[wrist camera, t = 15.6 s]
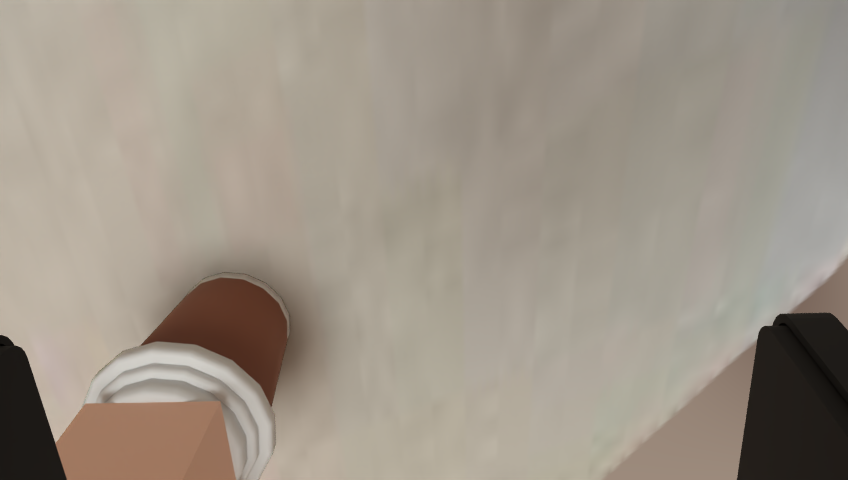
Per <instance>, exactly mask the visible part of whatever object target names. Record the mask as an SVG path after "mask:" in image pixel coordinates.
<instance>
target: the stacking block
mask: <svg viewBox="0 0 848 480" xmlns="http://www.w3.org/2000/svg"><path fill="white" fill-rule="evenodd" d="M56 447H57V450H58V453H59V456H60V459H61V463H62V466H63V469H64V472H65V475H66V478H67V480H236V477H235V472H234V467H233V462H232V457H231V452H230V447H229V442H228V437H227V432H226V427H225V422H224V417H223V412H222V407H221V402H220V401H201V402H148V403H85V405H84V406H83V407H82V409H81V410H80V411H79V413H78V414H77V415H76V417H75V418H74V419H73V421H72V422H71V424H70V425H69V426H68V428H67V429H66V430H65V432H64V433H63V434H62V436H61V437H60V438H59V440H58V441H57V442H56Z"/></svg>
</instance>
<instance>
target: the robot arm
mask: <svg viewBox="0 0 848 480" xmlns="http://www.w3.org/2000/svg"><path fill="white" fill-rule="evenodd" d="M0 480H67V478H66V475H65V472H64V469H63V466H62V463H61V459H60V456H59V453H58V450H57V447H56V444H55V441H54V438H53V435H52V432H51V429H50V426H49V423H48V420H47V416H46V413H45V410H44V407H43V404H42V401H41V398H40V395H39V392H38V389H37V386H36V383H35V380H34V376H33V373H32V370H31V367H30V364H29V361H28V358H27V356H26V353H25V351H24V350H23V349H22V348H21V347H18V346H14V344H13V342H12V341H11V340H10V339H9V338H8V337H5V336H3V335H0ZM737 480H848V330H847V329H846V328H845V327H844V326H843V325H842V323H841V322H840V321H839V320H838V319H837V318H836V317H835V316H834V315H832V314H831V313H797V314H780V315H778V316H777V317H776V319H775V321H774V322H773V326H764V327H762V328H761V330H760V332H759V335H758V339H757V346H756V354H755V360H754V367H753V374H752V381H751V388H750V394H749V401H748V408H747V415H746V422H745V429H744V435H743V442H742V449H741V456H740V463H739V470H738V478H737Z"/></svg>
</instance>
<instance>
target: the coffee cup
mask: <svg viewBox="0 0 848 480" xmlns="http://www.w3.org/2000/svg"><path fill="white" fill-rule="evenodd" d="M289 334H290V316H289V313H288V311H287V309H286V307H285V305H284V303H283V301H282V298H281V297H280V296H279V295H278V294H277V293H276V292H275V291H274V290H272V289H271V288H270V287H269V286H268V285H267V284H266V283H264V282H262V281H260V280H258V279H255V278H253V277H251V276H249V275H246V274H238V273H226V272H224V273H220V274H217V275H213V276H210V277H207V278H204V279H203V280H202V281H200V282H199V283H198V284H197V285H196V286H195V287H193V288H192V289H191V290H190V291H189V293H188V294H187V296H186V297H185V298H184V299H183V300H182V301H181V302H180V303H179V304H178V305H177V306H176V308H175V309H174V310H173V311H172V312H171V313H170V314H169V315H168V316H167V317H166V318H165V320H164V321H163V322H162V323H161V324H160V325H159V326H158V327H157V328H156V329H155V330H154V332H153V333H152V334H151V335H150V336H149V337H148V338H147V339H146V340H145V341H144V342H143V343H142V345H141V346H139V347H135V348H132V349H128V350H125V351H122V352H121V353H120V354H118V355H117V356H116V357H115V358H114V359H113V360H111V361H110V362H109V363H108V364H107V365H106V366H104V367H103V368H102V369H101V370H100V371H99V372H98V373H97V374H96V375H95V377H94V378H93V379H92V382H91V385H90V387H89V390H88V393H87V396H86V398H85V401H84V404H83V406H84V405H85V403H148V402H201V401H220V402H221V407H222V412H223V417H224V422H225V427H226V432H227V437H228V442H229V447H230V452H231V457H232V462H233V467H234V472H235V477H236V480H259V479H260V477H261V475H262V473H263V471H264V469H265V467H266V465H267V464H268V462H269V460H270V458H271V456H272V454H273V451H274V449H275V446H276V430H275V414H274V412H273V410H272V408H271V407H272V403H273V398H274V394H275V390H276V386H277V381H278V377H279V373H280V369H281V365H282V360H283V356H284V352H285V348H286V343H287V339H288V337H289ZM83 406H82V407H83Z"/></svg>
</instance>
